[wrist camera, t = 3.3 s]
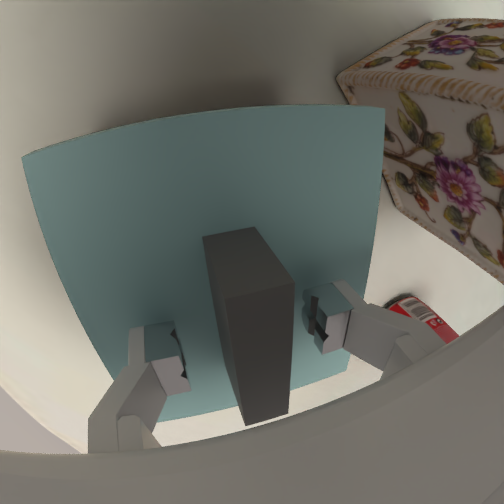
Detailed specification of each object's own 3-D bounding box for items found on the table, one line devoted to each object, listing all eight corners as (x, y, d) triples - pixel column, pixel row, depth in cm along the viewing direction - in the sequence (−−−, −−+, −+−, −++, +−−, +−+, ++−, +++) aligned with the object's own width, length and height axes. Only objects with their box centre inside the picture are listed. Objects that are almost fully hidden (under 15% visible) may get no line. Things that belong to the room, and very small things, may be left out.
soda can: (368, 355, 30) (429, 437, 20) (359, 318, 26) (438, 417, 16) (417, 319, 30) (483, 390, 20) (416, 278, 26) (501, 358, 16)
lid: (44, 145, 8) (-35, 193, 4) (351, 103, 10) (455, 125, 6) (141, 393, 14) (151, 476, 10) (329, 346, 17) (373, 411, 13)
